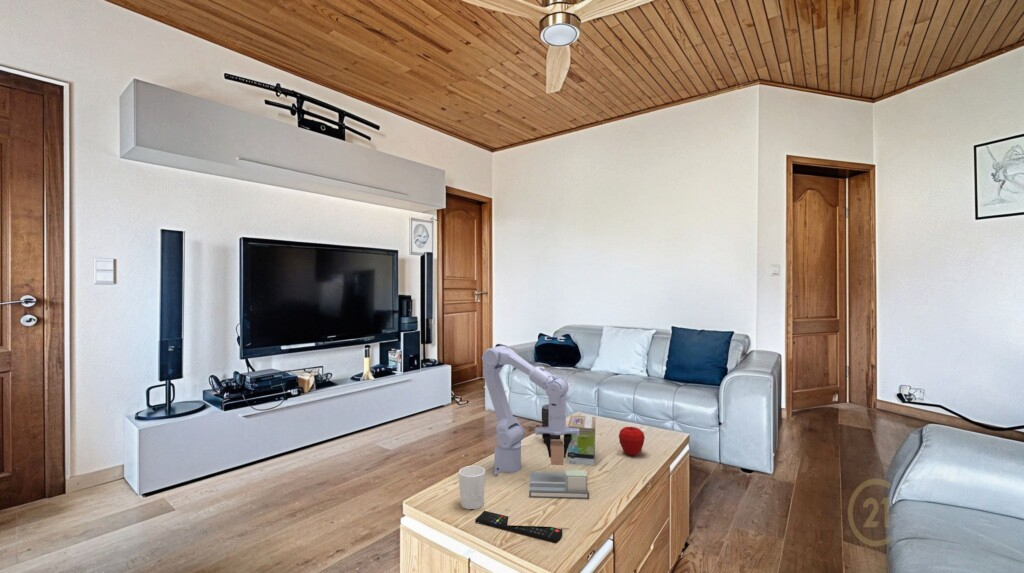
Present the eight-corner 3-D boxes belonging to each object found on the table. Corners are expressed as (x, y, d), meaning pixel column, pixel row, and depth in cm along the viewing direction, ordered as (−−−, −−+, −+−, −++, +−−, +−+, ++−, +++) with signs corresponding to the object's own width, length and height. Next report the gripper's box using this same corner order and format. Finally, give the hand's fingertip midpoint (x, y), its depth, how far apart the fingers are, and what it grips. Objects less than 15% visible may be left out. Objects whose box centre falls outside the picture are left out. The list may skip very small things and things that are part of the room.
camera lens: (537, 443, 181) (537, 407, 181) (547, 437, 188) (547, 403, 188) (554, 447, 177) (554, 410, 177) (564, 441, 183) (564, 405, 183)
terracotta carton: (563, 465, 141) (563, 446, 141) (551, 464, 141) (551, 446, 141) (562, 457, 147) (562, 439, 147) (550, 457, 148) (550, 439, 148)
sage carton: (566, 495, 133) (566, 475, 133) (565, 489, 137) (565, 470, 137) (587, 495, 133) (587, 476, 133) (586, 489, 137) (586, 470, 137)
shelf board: (529, 501, 132) (529, 491, 132) (530, 475, 150) (530, 467, 150) (589, 503, 131) (589, 493, 131) (583, 476, 149) (583, 468, 149)
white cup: (474, 513, 125) (474, 478, 125) (453, 506, 129) (453, 472, 129) (490, 502, 131) (490, 469, 131) (469, 495, 135) (469, 463, 135)
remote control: (484, 515, 125) (484, 510, 125) (564, 535, 115) (564, 530, 115) (475, 524, 120) (475, 519, 120) (557, 545, 110) (557, 540, 110)
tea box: (595, 469, 155) (595, 427, 155) (566, 467, 157) (566, 426, 157) (595, 453, 170) (595, 415, 170) (569, 451, 172) (569, 414, 172)
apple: (647, 459, 164) (647, 430, 164) (622, 458, 165) (622, 430, 165) (640, 449, 174) (640, 422, 174) (616, 449, 174) (616, 422, 174)
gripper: (535, 418, 141) (535, 460, 141) (580, 419, 140) (580, 461, 140) (535, 412, 148) (535, 452, 148) (578, 413, 147) (578, 453, 147)
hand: (557, 456), depth 144 cm, fingers closed on terracotta carton, 4 cm apart
